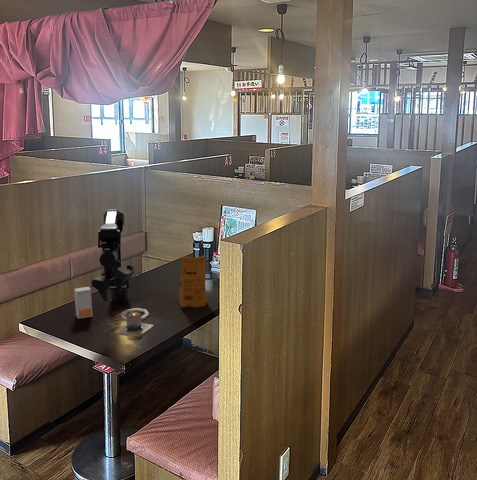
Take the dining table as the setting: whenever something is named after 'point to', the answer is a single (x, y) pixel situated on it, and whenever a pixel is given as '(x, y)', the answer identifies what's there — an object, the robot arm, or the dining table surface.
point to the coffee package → (192, 282)
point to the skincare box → (83, 302)
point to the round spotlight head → (133, 321)
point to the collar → (135, 310)
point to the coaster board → (138, 333)
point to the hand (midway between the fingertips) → (112, 297)
